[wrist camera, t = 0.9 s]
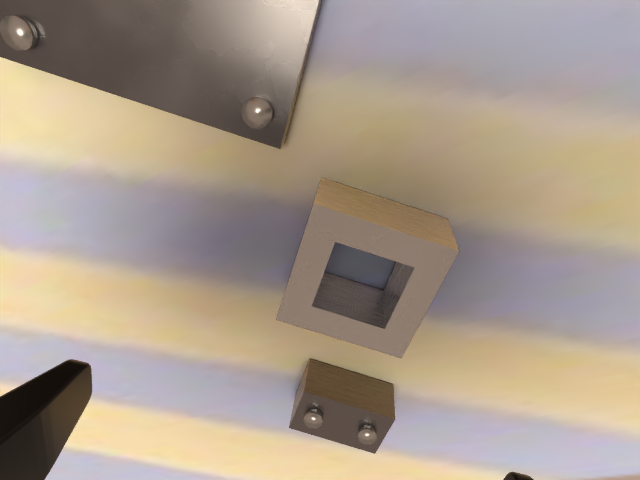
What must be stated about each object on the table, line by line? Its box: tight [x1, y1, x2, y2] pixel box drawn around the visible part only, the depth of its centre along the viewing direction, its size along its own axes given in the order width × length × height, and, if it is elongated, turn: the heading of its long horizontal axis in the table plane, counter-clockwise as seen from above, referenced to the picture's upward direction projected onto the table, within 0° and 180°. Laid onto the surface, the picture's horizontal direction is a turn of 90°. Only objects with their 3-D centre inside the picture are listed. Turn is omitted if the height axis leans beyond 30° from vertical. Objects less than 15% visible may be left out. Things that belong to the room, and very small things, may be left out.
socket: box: [276, 178, 459, 358], centre depth 19 cm, size 6×6×3 cm
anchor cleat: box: [289, 359, 395, 453], centre depth 24 cm, size 5×3×3 cm, turn 73°
